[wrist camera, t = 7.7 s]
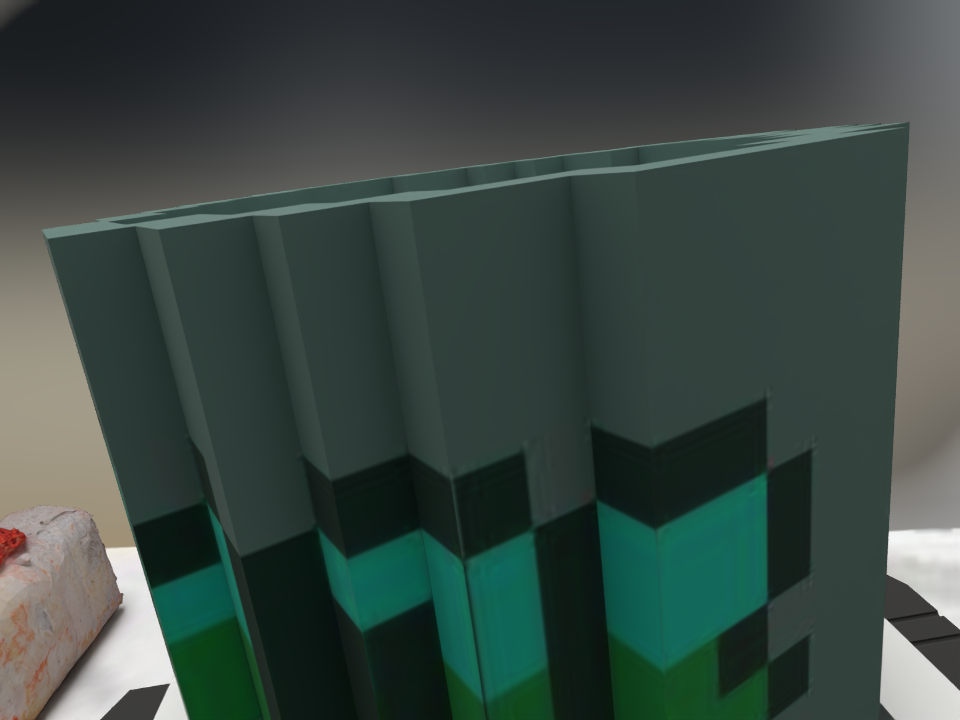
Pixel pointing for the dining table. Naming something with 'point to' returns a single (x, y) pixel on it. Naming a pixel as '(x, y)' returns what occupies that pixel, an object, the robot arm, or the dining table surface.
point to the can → (514, 432)
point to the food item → (48, 602)
